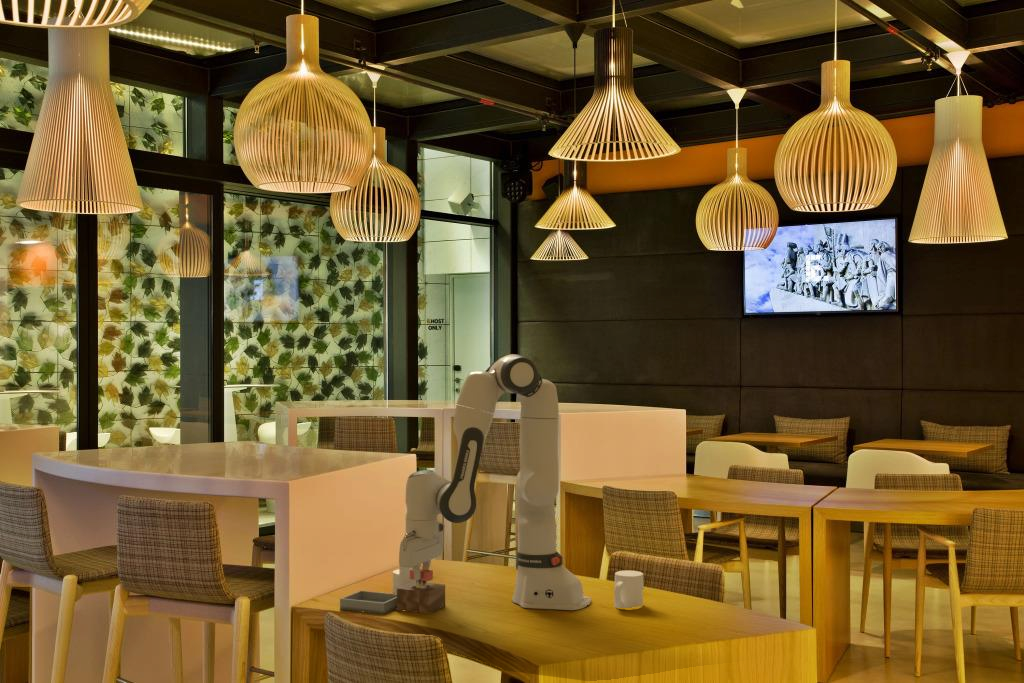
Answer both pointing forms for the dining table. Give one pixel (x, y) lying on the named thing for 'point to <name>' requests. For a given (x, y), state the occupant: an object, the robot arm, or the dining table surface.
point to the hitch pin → (426, 576)
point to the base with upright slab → (401, 578)
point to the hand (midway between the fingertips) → (421, 577)
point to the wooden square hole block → (420, 597)
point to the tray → (369, 602)
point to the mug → (628, 589)
